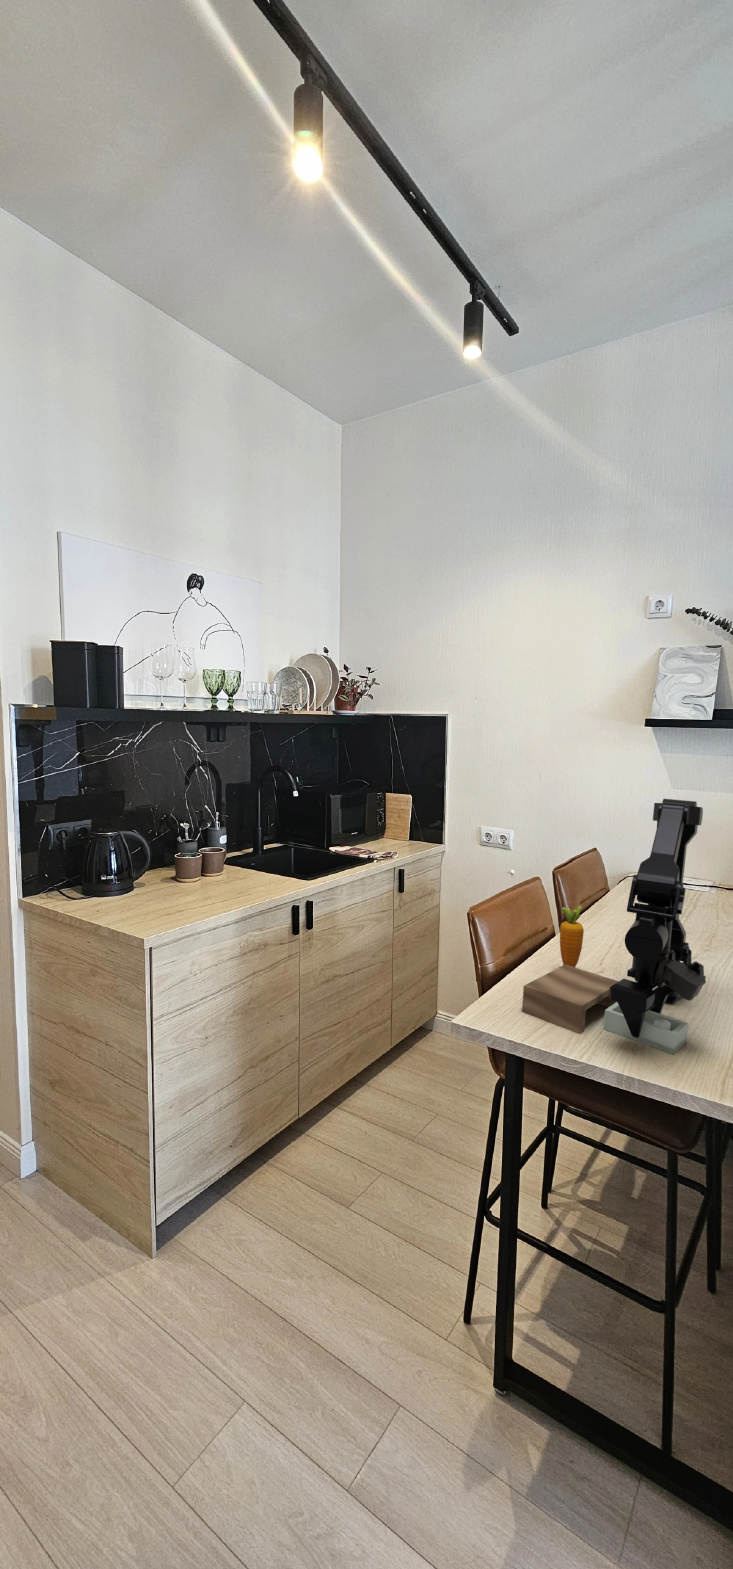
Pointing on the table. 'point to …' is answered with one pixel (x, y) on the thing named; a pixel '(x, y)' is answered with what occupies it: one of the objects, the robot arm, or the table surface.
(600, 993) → the walnut shelf
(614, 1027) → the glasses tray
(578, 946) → the carrot
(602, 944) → the table surface
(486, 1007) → the table surface
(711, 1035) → the table surface
